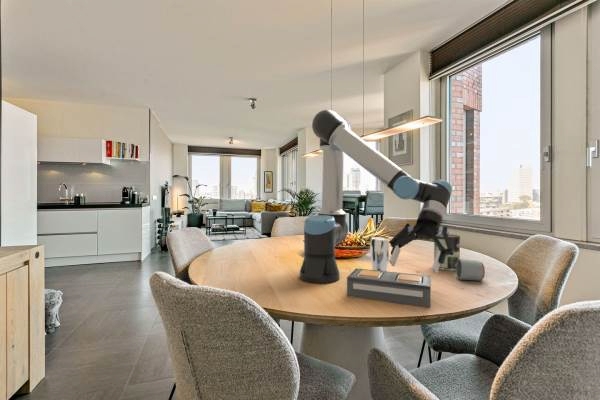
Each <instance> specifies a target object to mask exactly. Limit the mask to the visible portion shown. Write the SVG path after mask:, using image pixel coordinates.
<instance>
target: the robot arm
mask: <svg viewBox="0 0 600 400" xmlns="http://www.w3.org/2000/svg"><path fill="white" fill-rule="evenodd" d="M346 119H347V118H344V117H343V116H342V115H340V114H338V113H337V112H336V111H334V110H332V109H322V110H320V111H318V113H317V114H315V115H314V117H313V119H312V122H311V128H312V132H313V133H314V135H315V136H316V137H317V138H318V139H319V149H320V150H321V151H322V184H321V185H322V186H321V187H322V189H321V190H322V191H321V192H322V193H321V209H320V210H319V211H318V213H317V215H312V216H308V217H307V218H305V220H304V222H303V223H304V225H303V235H304V236H303V243H304V244H303V247H304V251H303V252H304V254H303V255H304V256H303V259H302V263H301V266H300V269H299V279H300V280H301V281H304V282H307V283H311V284H312V283H313V284H328V283H334V282H337V281H339V280H340V269H339V267H338V264H337V261H336V245H338V244H341V243H342V242H343V241H344V240H345V239H346V238H347V237H348V234H349V224H348V222H347V221H346V216H347V212H345V211H344V210H343V199H344V197H343V196H344V195H343V194H344V162H345V161H344V159H345V158H344V157H345V156H344V155H347V156H348V157H349V158H350V159H352V160H353V161H354V162H355V163H356V164H358V165H359V166H361V167H362V168H364V170H366V171H367V172H368V173H369V174H371V175H372V176H373V177H375V179H377V180H378V181H379V182H381V183H382V184H384V185H385V186H386V187H387V188H388V189H389V190H390V191H392V192H393V194H394V195H395V196H397V197H398V198H399V199H401V200H413V201H416V202H419V203H423V204H422V207H421V208H420V212H419V214H418V216H417V219H416V223H415V225H411V224H410V223H406V224H405V226H404V227H403V228H402V229H401V230H400V231H399V232H397V234H396V235H394V237H392V238H391V240H389V246H391V251H390V255H391V256H390V257H389V263H390V265H391V267H395V265H396V263H397V260H398V258H399V256H400V253H401V248H403V247H405V246H406V245H408V244H409V243H411V242H412V241H416V240H419V239H420V240H432V242H433V244H434V243H435V244H436V246H437V247H438V249H439V250H440V251H438V252H437V255H436V258H435V261H434V260H433V264H432V266H431V267H432V272H433V274H435V275H438V272H439V270H440V269H439V266H440V264H443V263H444V260H445V257H446V255H449V254H450V255H453V254H454V253H453V250H452V247H451V244H450V241H449V238H448V234H449V233H450V232H449V229H448V227H447V226H446V225H445V226H443V227H441V225H442V222H443V219H444V216H445V213H446V210H447V207H448V204H449V201H450V199H451V196H452V195H451V194H452V192H453V188H452V185H451V184H450V183H449V182H448V181H446V180H444V179H436V180H433V181H432V183H430V182H425V181H422V180H419V179H416V178H415V177H413V176H411V175H410V174H408V173H407V172H406V171H404V170H403V169H402V168H400V167H399V166H398V165H396V163H394V162H393V161H391V160H390V159H389V158H387V157H386V156H385V155H383V154H382V153H381V152H379V151H378V150H376V149H375V148H374V147H373V146H372V145H370V144H369V143H368V142H366V141H365V140H363V139H362V138H361V137H360V136H358V135H357V134H356V133H355V132H354V131H352V127H351V126H350V123H349V122H348V120H346ZM437 234H442V235H443V236H444V239H445V243H446V246H447V249H445V248H444V247H443V245H442V244H441V243H440V241H439V240H438V238H437V237H436V236H435V235H437Z"/></svg>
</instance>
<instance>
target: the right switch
mask: <svg viewBox="0 0 600 400" xmlns="http://www.w3.org/2000/svg"><path fill="white" fill-rule="evenodd" d="M396 281H404V282H413V283H422V277H420V276H415V275H405V274H400V275H398V277H397V280H396Z"/></svg>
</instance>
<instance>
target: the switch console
mask: <svg viewBox="0 0 600 400" xmlns="http://www.w3.org/2000/svg"><path fill="white" fill-rule="evenodd" d="M362 270H367V269H365V268H355V269H354V270H352V272H350V274H349V275H348V276H347V277H346V296H347V297H352V298H359V299H365V300H373V301H379V302H387V303H393V304H394V303H395V304H400V305H401V304H403V305H407V306H408V305H409V306H415V307H416V306H418V307H422V308H423V307H424V308H431V295H432V294H431V290H432V289H431V285H432V279H431V278H432V276H431V275H424V274H416V273H415V274H414V273H404V272H396V271H395V272H394V271H388V270H387V271H379V272H381V273H383V276H382V277H381V279H377V278H368V277H359V276H357V275H358V274H359V273H360V272H361V271H362ZM368 270H369V271H377V270H372V269H368ZM400 274H405V275H415V276H420V277H422V283H413V282H404V281H396V280H397V277H398V275H400Z"/></svg>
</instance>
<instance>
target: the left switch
mask: <svg viewBox="0 0 600 400" xmlns="http://www.w3.org/2000/svg"><path fill="white" fill-rule="evenodd" d="M369 270H370V269H366V270H362V271H361V272H360V273H359V274H358V275H357V276H359V277H368V278H377V279H381V277H382V276H383V273H381V272H379V271H369Z"/></svg>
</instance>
